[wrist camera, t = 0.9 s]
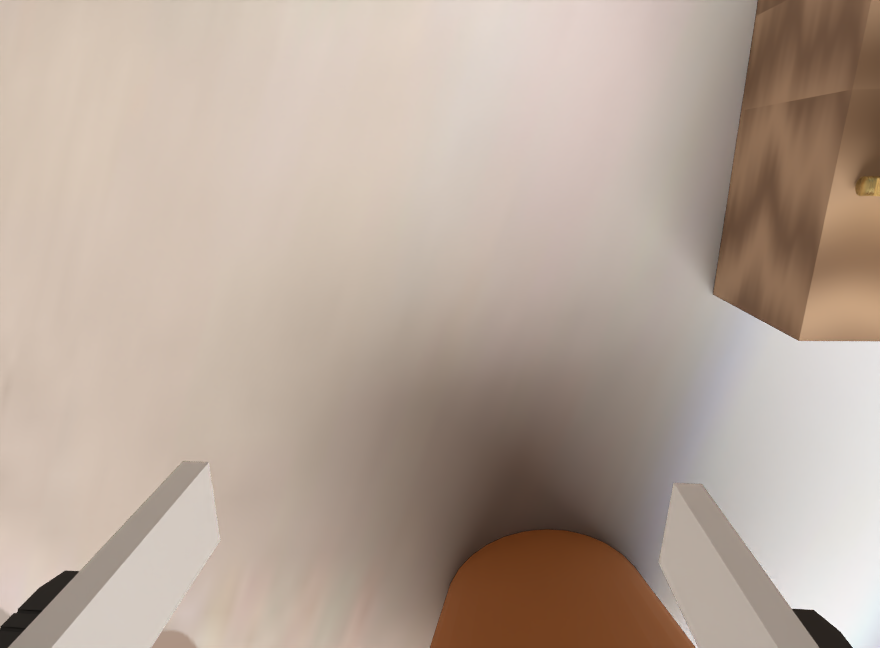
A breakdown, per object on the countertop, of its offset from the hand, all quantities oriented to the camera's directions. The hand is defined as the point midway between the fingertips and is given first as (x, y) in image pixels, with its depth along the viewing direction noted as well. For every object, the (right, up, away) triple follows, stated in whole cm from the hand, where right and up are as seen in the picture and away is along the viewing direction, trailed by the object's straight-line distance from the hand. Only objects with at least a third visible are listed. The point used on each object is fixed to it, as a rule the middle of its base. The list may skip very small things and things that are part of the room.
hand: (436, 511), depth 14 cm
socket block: (+24, +17, +19) cm, 35 cm away
